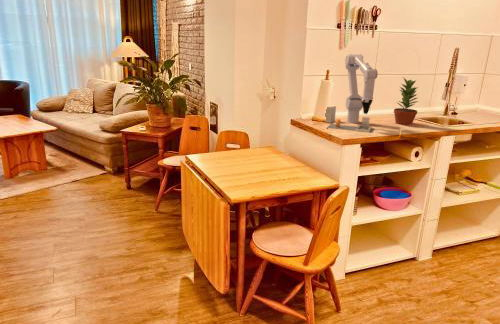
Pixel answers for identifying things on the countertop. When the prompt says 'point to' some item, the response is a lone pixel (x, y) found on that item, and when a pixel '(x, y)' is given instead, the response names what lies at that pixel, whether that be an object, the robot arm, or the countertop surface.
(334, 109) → the small box
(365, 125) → the beige open rectangular frame
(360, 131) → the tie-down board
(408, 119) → the potted plant
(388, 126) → the countertop surface
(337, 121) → the post
